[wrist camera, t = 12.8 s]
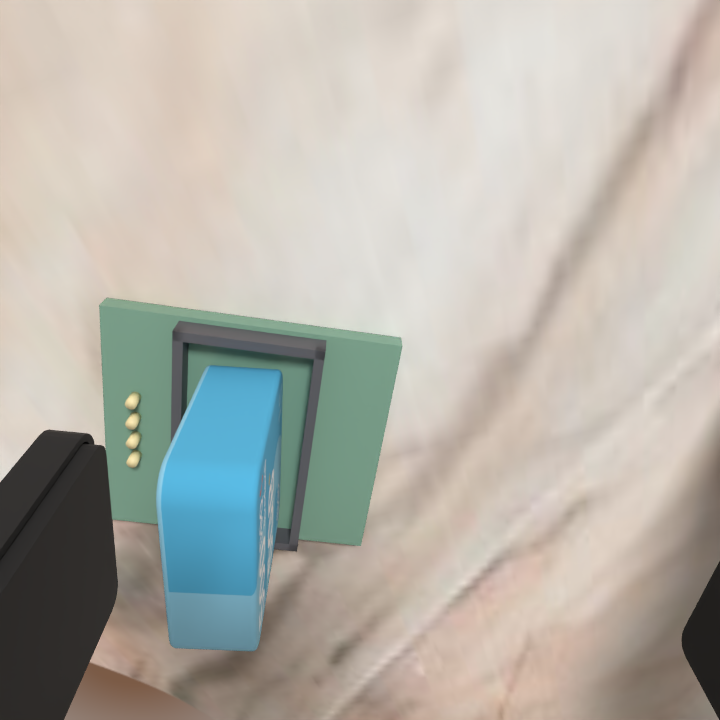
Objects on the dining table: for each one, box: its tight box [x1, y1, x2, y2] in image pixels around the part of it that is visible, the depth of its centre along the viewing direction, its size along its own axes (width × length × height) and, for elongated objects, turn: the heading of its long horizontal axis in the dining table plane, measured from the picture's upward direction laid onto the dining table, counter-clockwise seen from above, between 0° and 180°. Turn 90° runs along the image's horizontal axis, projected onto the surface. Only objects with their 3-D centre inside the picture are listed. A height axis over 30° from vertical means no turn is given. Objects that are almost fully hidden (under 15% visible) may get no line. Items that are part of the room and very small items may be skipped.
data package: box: [156, 365, 283, 651], centre depth 34 cm, size 12×4×12 cm, turn 175°
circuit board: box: [99, 298, 402, 551], centre depth 40 cm, size 18×16×3 cm
